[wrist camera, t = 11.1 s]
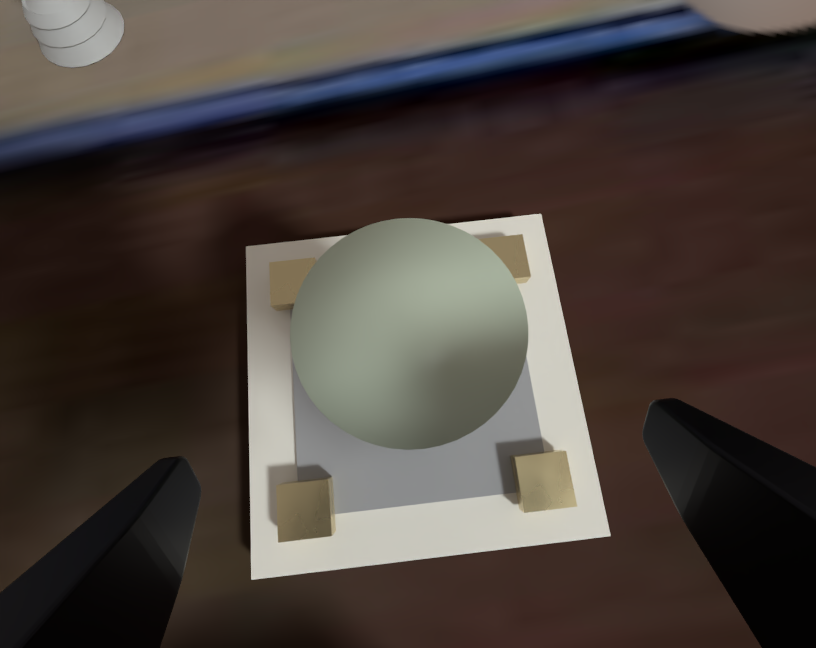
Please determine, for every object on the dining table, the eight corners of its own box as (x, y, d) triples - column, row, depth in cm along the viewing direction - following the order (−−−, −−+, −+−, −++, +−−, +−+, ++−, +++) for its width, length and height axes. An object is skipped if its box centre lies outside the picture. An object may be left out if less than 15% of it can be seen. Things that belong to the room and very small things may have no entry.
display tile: (594, 526, 17) (623, 543, 15) (265, 566, 17) (240, 589, 15) (532, 228, 21) (547, 202, 18) (257, 259, 21) (236, 236, 18)
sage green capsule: (376, 459, 16) (334, 490, 8) (336, 346, 18) (261, 264, 9) (489, 412, 17) (570, 392, 8) (442, 305, 18) (469, 188, 9)
